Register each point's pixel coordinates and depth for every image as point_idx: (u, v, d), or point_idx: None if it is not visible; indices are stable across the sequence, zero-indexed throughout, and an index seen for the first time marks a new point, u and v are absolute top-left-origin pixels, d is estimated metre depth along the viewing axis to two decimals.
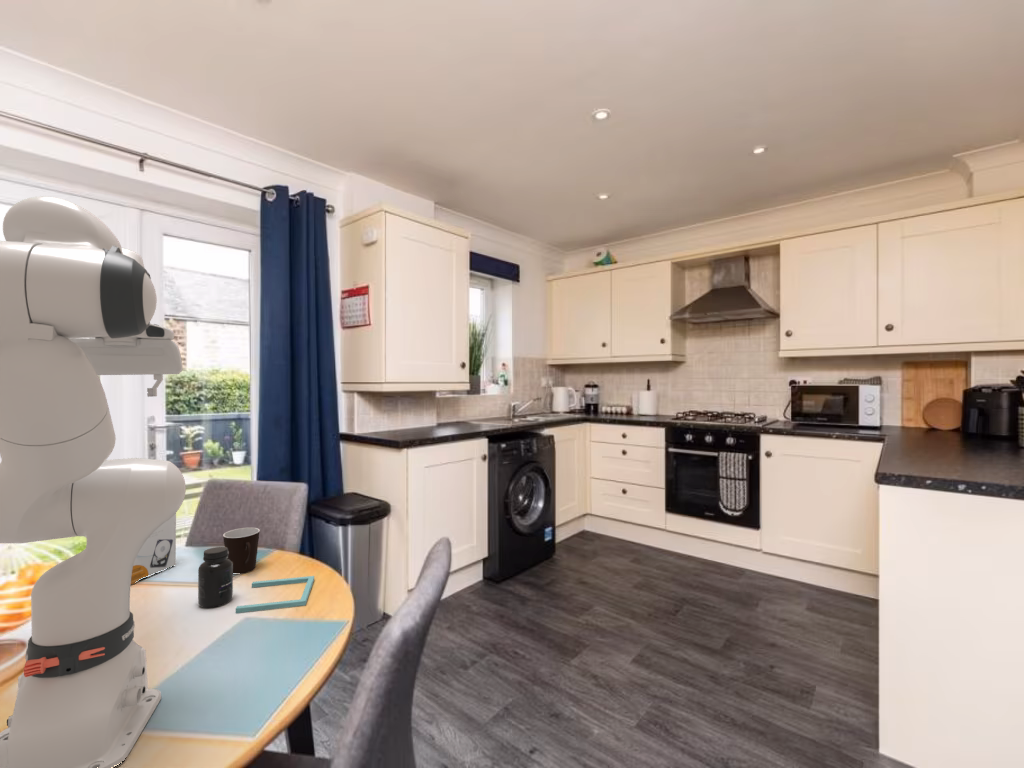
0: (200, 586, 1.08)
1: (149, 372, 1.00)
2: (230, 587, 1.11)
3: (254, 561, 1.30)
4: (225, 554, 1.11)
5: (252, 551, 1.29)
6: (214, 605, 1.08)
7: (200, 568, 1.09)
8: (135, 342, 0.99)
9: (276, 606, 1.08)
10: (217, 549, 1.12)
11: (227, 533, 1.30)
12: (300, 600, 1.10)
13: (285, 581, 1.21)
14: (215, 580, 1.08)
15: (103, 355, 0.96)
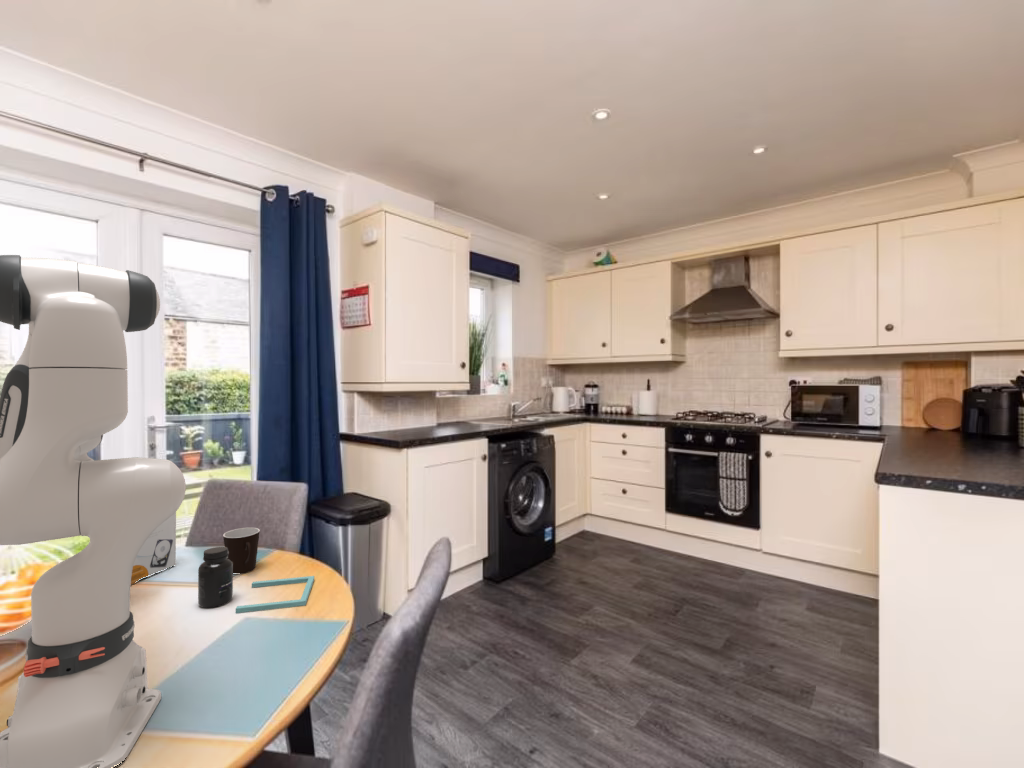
0: (200, 586, 1.08)
1: None
2: (230, 587, 1.11)
3: (254, 561, 1.30)
4: (225, 554, 1.11)
5: (252, 551, 1.29)
6: (214, 605, 1.08)
7: (200, 568, 1.09)
8: None
9: (276, 606, 1.08)
10: (217, 549, 1.12)
11: (227, 533, 1.30)
12: (300, 600, 1.10)
13: (285, 581, 1.21)
14: (215, 580, 1.08)
15: None
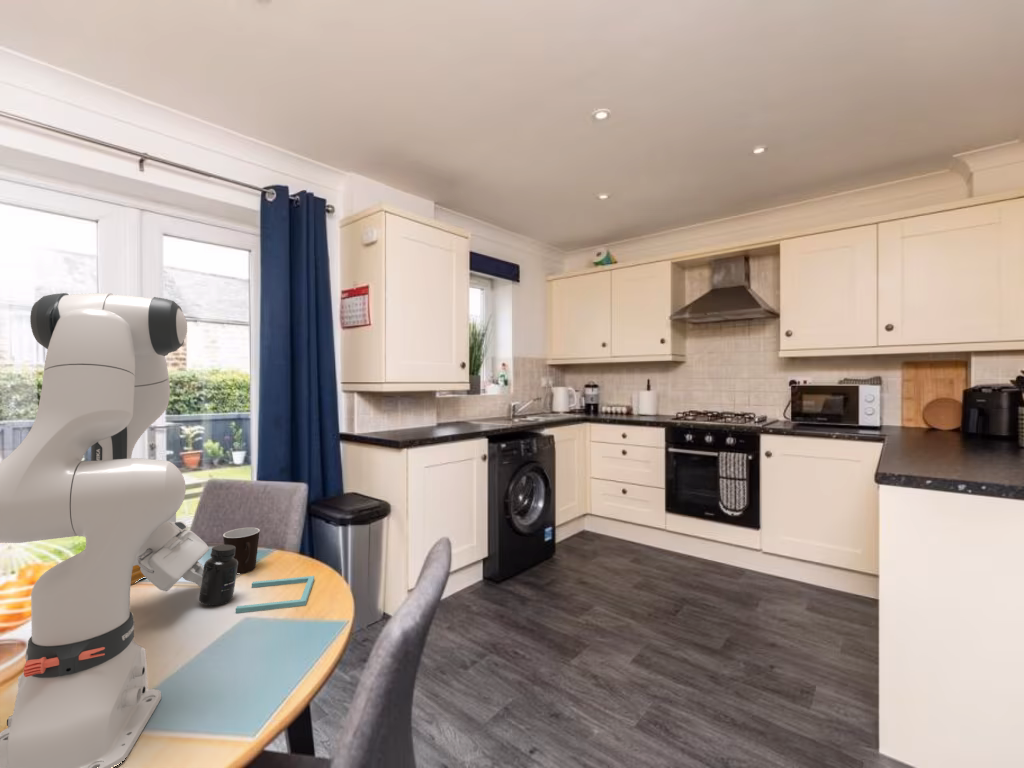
0: (204, 582, 1.08)
1: (201, 554, 1.14)
2: (232, 587, 1.11)
3: (254, 561, 1.30)
4: (232, 553, 1.12)
5: (252, 551, 1.29)
6: (215, 603, 1.08)
7: (206, 564, 1.09)
8: None
9: (276, 606, 1.08)
10: (225, 547, 1.12)
11: (227, 533, 1.30)
12: (300, 600, 1.10)
13: (285, 581, 1.21)
14: (220, 578, 1.09)
15: (176, 556, 1.07)
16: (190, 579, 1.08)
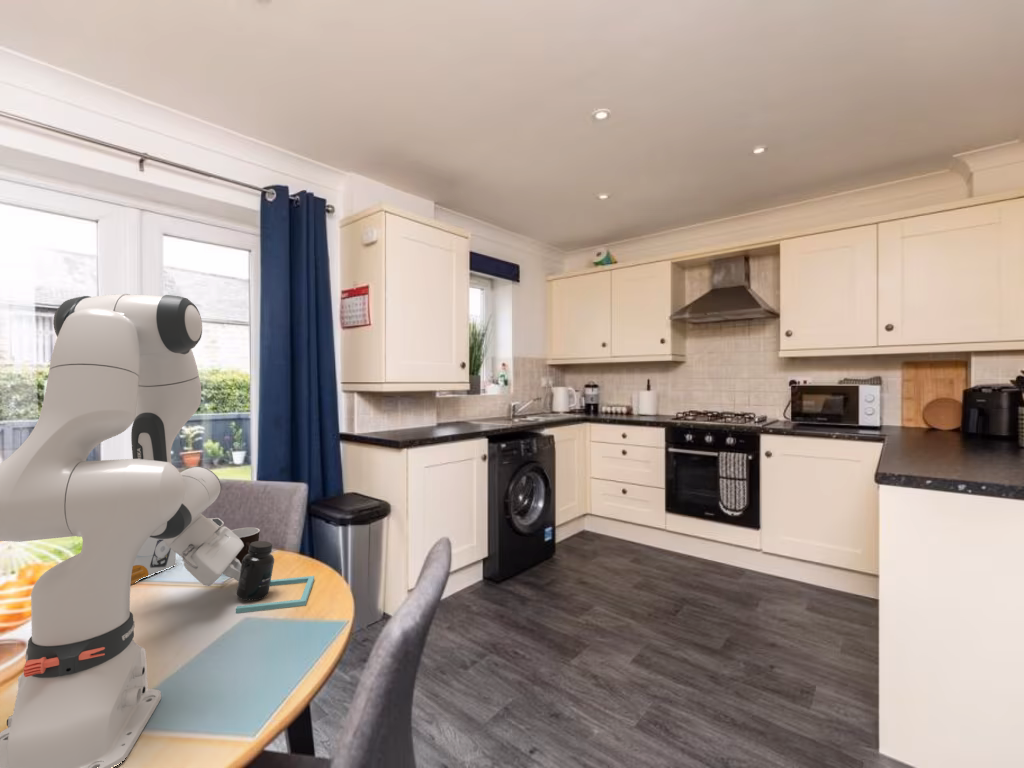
0: (242, 578, 1.11)
1: (238, 550, 1.17)
2: (269, 582, 1.14)
3: None
4: (269, 549, 1.14)
5: None
6: (252, 598, 1.11)
7: (245, 560, 1.11)
8: None
9: (276, 606, 1.08)
10: (262, 543, 1.14)
11: None
12: (300, 600, 1.10)
13: (285, 581, 1.21)
14: (257, 574, 1.11)
15: (216, 552, 1.09)
16: (229, 574, 1.10)
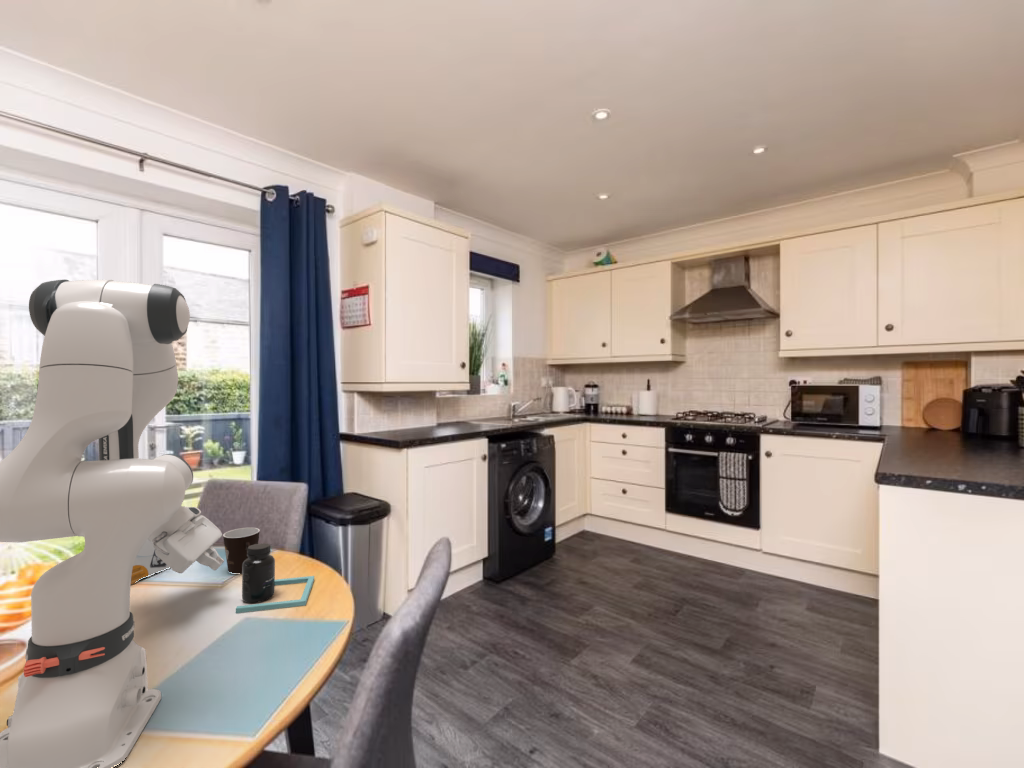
0: (245, 581, 1.11)
1: (215, 539, 1.15)
2: (273, 582, 1.14)
3: None
4: (268, 550, 1.13)
5: None
6: (258, 600, 1.11)
7: (245, 564, 1.11)
8: None
9: (276, 606, 1.08)
10: (260, 545, 1.14)
11: (227, 533, 1.30)
12: (300, 600, 1.10)
13: (285, 581, 1.21)
14: (260, 575, 1.11)
15: (191, 540, 1.07)
16: (204, 563, 1.08)
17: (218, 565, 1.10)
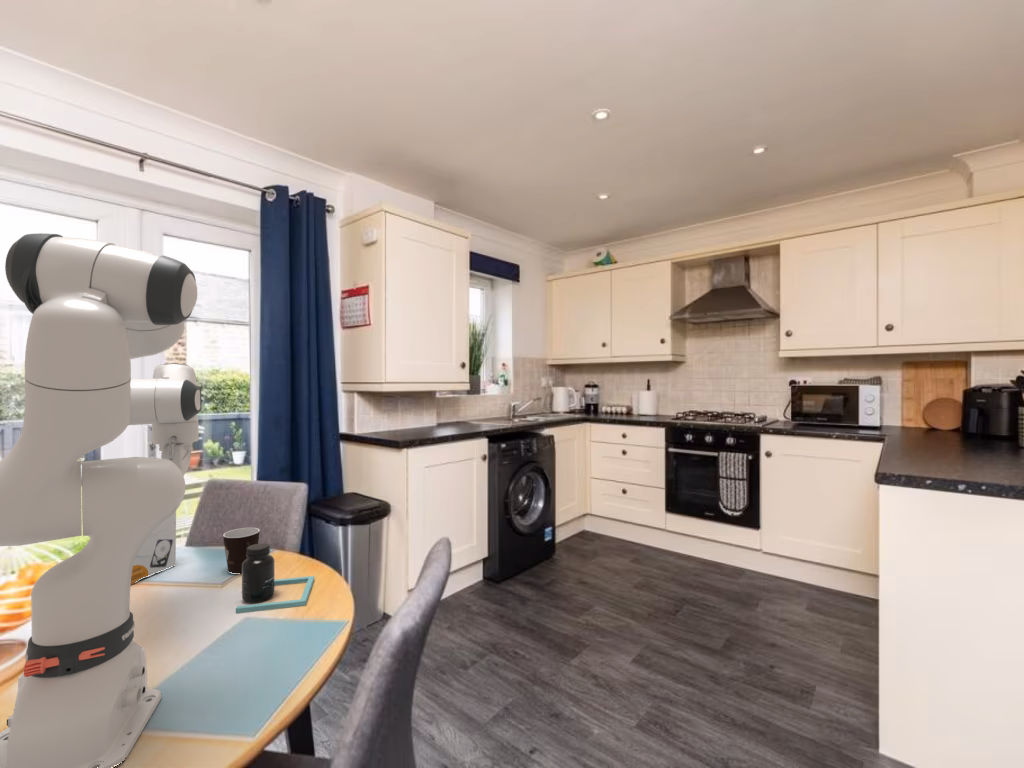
0: (244, 582, 1.10)
1: None
2: (273, 582, 1.14)
3: None
4: (267, 550, 1.13)
5: None
6: (258, 600, 1.11)
7: (244, 564, 1.11)
8: None
9: (276, 606, 1.08)
10: (259, 545, 1.14)
11: (227, 533, 1.30)
12: (300, 600, 1.10)
13: (285, 581, 1.21)
14: (259, 575, 1.11)
15: (183, 458, 1.10)
16: None
17: None
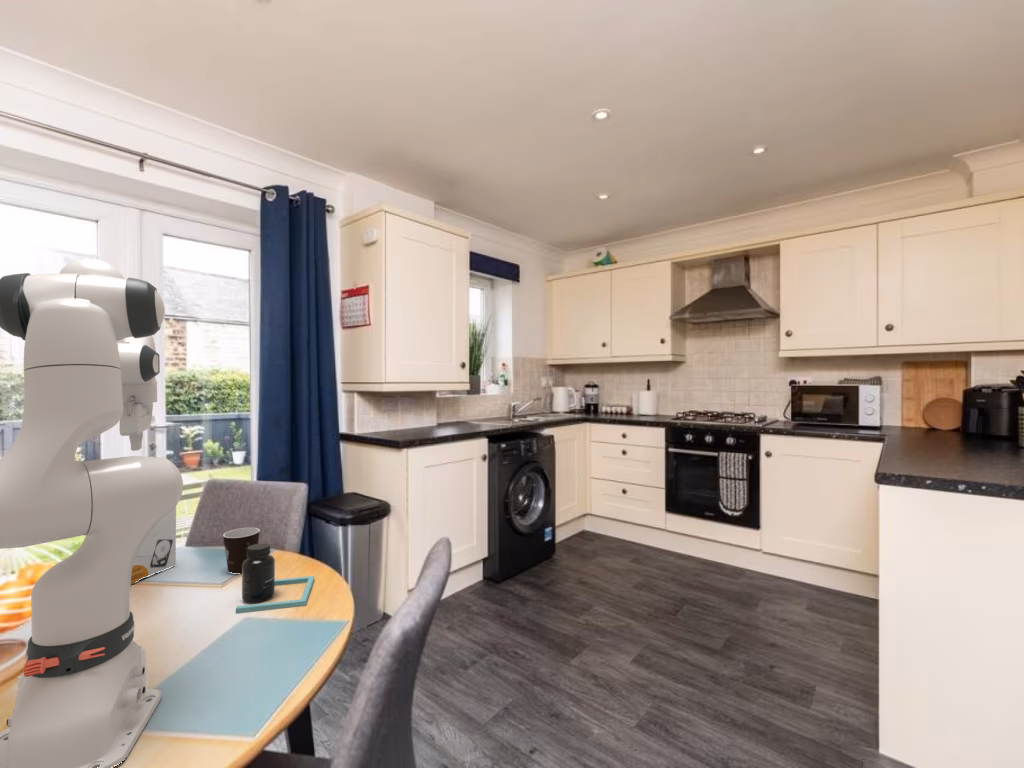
0: (245, 582, 1.10)
1: (147, 428, 1.28)
2: (273, 583, 1.14)
3: None
4: (268, 550, 1.13)
5: None
6: (259, 600, 1.11)
7: (244, 564, 1.11)
8: None
9: (276, 606, 1.08)
10: (260, 545, 1.14)
11: (227, 533, 1.30)
12: (300, 600, 1.10)
13: (285, 581, 1.21)
14: (260, 575, 1.11)
15: (142, 416, 1.22)
16: (132, 439, 1.21)
17: (138, 448, 1.23)
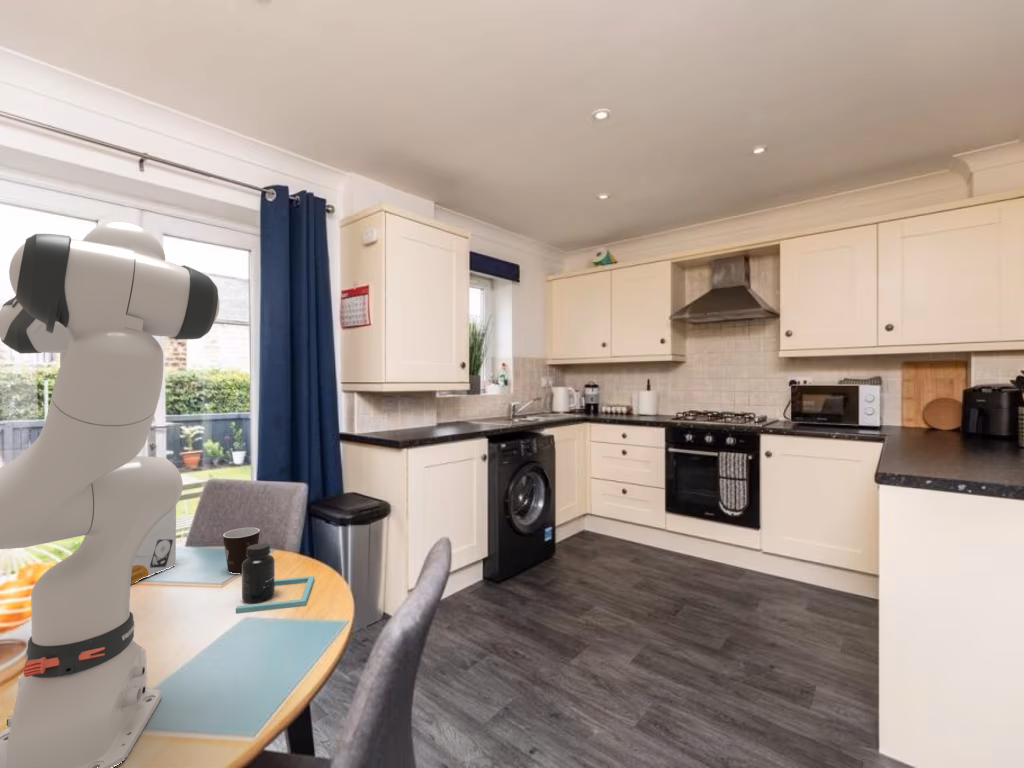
0: (245, 582, 1.10)
1: None
2: (273, 582, 1.14)
3: None
4: (268, 550, 1.13)
5: None
6: (259, 600, 1.11)
7: (244, 564, 1.11)
8: None
9: (276, 606, 1.08)
10: (259, 545, 1.14)
11: (227, 533, 1.30)
12: (300, 600, 1.10)
13: (285, 581, 1.21)
14: (260, 575, 1.11)
15: None
16: None
17: None
